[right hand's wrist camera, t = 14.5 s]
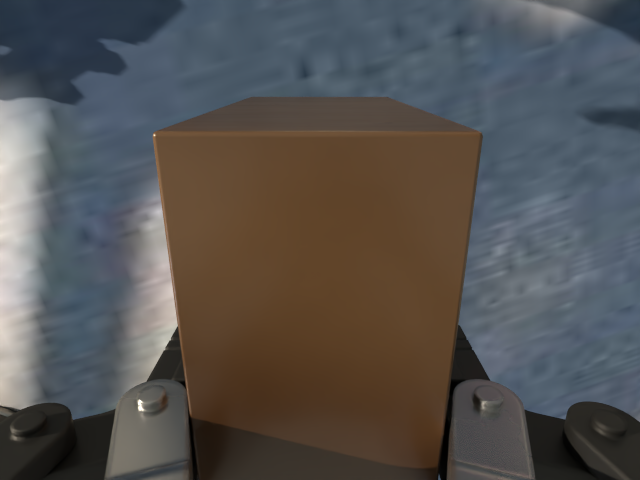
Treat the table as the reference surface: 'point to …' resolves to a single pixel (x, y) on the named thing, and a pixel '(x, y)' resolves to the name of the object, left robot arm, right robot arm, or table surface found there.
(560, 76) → the table surface
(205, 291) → the post
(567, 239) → the table surface
